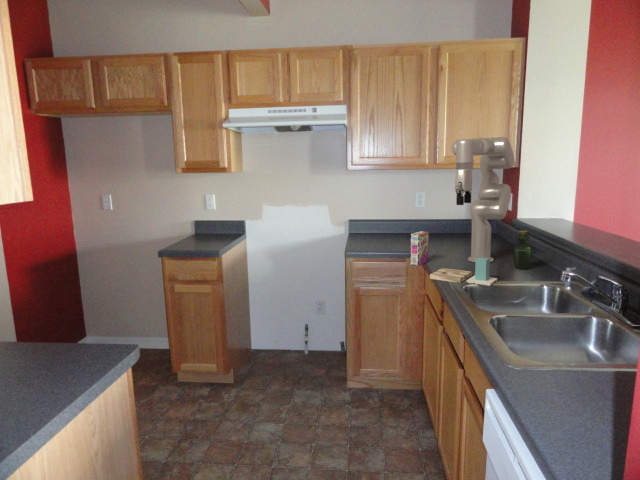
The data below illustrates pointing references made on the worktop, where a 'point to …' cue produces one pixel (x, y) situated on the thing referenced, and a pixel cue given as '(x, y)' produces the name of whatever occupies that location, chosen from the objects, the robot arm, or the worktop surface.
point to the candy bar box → (419, 248)
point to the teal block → (482, 269)
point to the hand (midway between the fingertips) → (463, 203)
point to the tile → (487, 282)
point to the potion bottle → (522, 252)
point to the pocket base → (451, 275)
